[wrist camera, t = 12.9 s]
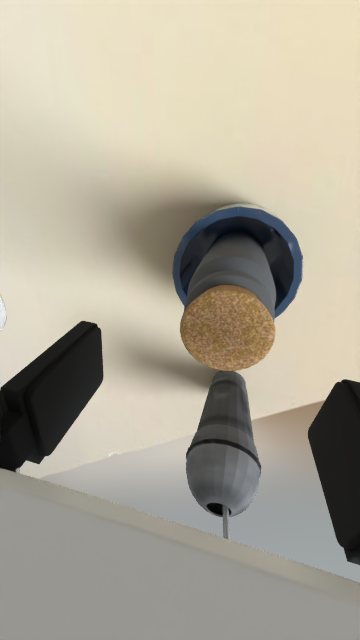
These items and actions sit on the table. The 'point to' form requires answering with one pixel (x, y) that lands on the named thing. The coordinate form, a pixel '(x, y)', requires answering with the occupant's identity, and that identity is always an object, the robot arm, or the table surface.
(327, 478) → the robot arm
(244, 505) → the beverage cup
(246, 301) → the bottle
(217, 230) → the desk pot
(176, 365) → the table surface
